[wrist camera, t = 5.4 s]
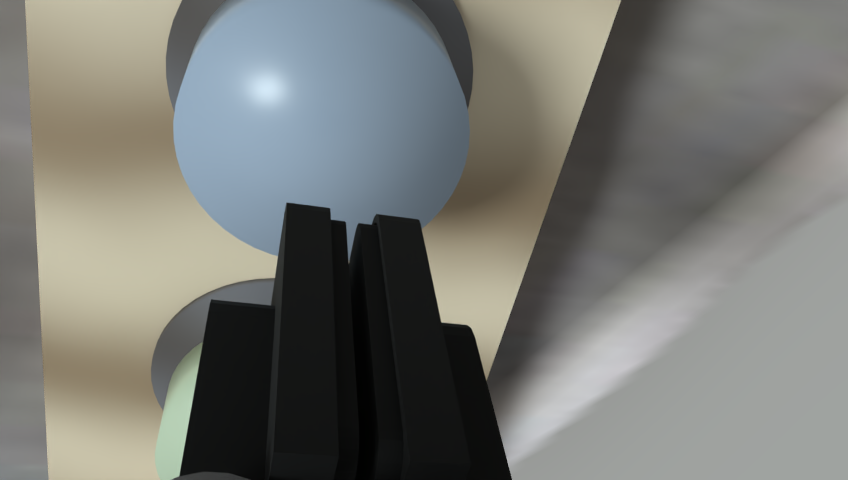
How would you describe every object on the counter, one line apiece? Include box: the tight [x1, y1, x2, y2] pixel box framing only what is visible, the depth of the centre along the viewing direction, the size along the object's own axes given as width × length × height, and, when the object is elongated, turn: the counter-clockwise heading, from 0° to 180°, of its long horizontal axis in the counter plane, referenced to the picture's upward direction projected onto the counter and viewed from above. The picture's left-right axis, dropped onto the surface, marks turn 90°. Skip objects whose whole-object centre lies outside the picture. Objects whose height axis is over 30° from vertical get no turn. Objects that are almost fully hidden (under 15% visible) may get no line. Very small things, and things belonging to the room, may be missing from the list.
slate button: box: [173, 0, 470, 260], centre depth 14 cm, size 5×5×2 cm
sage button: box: [155, 342, 203, 480], centre depth 18 cm, size 5×5×2 cm
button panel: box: [25, 0, 621, 480], centre depth 21 cm, size 25×11×3 cm, turn 167°
